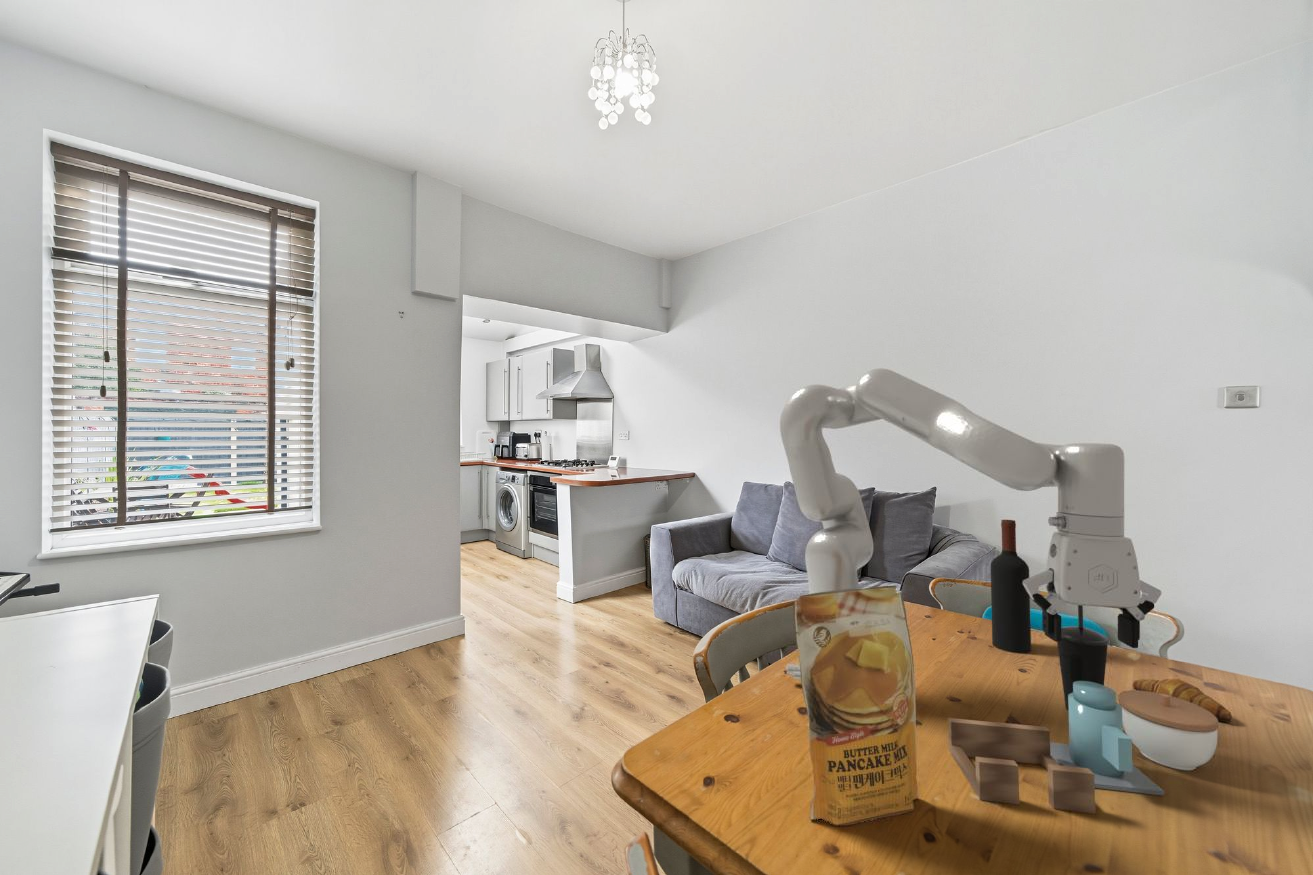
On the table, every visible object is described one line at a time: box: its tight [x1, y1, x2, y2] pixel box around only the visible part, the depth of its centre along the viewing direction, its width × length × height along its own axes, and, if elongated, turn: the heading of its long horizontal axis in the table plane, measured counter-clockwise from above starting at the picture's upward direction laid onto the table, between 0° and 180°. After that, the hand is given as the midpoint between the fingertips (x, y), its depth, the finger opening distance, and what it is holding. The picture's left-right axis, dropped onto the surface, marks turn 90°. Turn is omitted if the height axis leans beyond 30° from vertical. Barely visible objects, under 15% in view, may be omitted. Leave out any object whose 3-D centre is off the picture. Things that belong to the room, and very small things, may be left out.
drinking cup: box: [1056, 605, 1111, 712], centre depth 91 cm, size 8×8×20 cm
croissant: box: [1132, 678, 1233, 723], centre depth 92 cm, size 14×7×5 cm, turn 20°
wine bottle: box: [990, 519, 1032, 654], centre depth 121 cm, size 8×8×30 cm
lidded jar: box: [1117, 689, 1219, 771], centre depth 77 cm, size 11×11×9 cm
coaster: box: [1050, 741, 1165, 797], centre depth 74 cm, size 10×10×1 cm
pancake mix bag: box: [792, 585, 920, 827], centre depth 67 cm, size 7×19×28 cm, turn 104°
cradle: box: [947, 717, 1096, 814], centre depth 72 cm, size 13×11×5 cm
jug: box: [1068, 681, 1133, 777], centre depth 73 cm, size 6×9×11 cm, turn 169°
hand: (1089, 641), depth 75 cm, fingers open, 9 cm apart
